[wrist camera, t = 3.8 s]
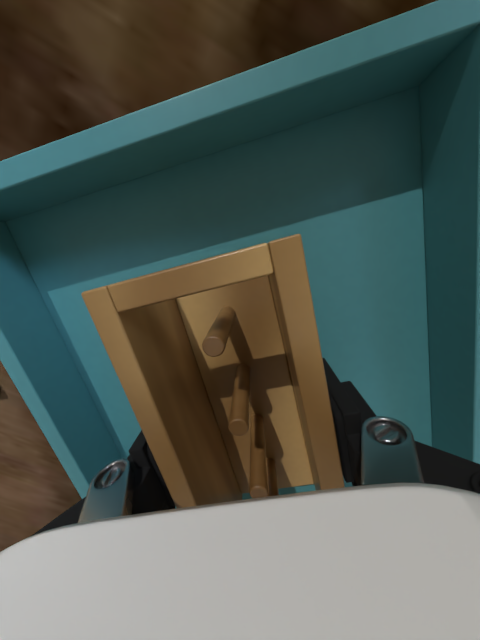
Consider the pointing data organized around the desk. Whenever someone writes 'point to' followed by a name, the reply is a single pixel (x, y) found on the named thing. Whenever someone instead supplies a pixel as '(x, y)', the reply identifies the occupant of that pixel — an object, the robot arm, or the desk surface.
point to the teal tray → (269, 226)
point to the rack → (225, 373)
